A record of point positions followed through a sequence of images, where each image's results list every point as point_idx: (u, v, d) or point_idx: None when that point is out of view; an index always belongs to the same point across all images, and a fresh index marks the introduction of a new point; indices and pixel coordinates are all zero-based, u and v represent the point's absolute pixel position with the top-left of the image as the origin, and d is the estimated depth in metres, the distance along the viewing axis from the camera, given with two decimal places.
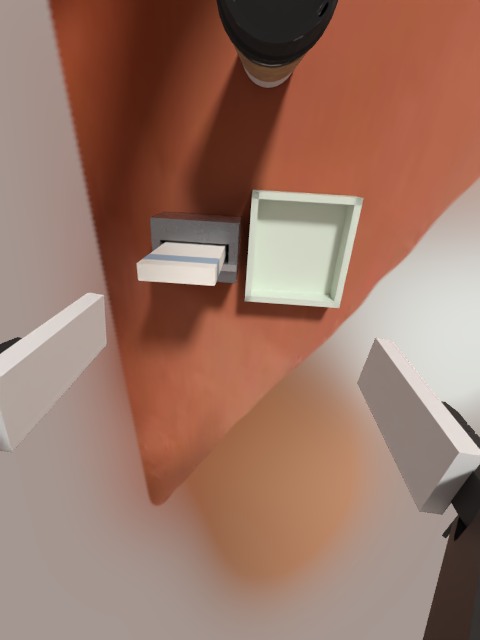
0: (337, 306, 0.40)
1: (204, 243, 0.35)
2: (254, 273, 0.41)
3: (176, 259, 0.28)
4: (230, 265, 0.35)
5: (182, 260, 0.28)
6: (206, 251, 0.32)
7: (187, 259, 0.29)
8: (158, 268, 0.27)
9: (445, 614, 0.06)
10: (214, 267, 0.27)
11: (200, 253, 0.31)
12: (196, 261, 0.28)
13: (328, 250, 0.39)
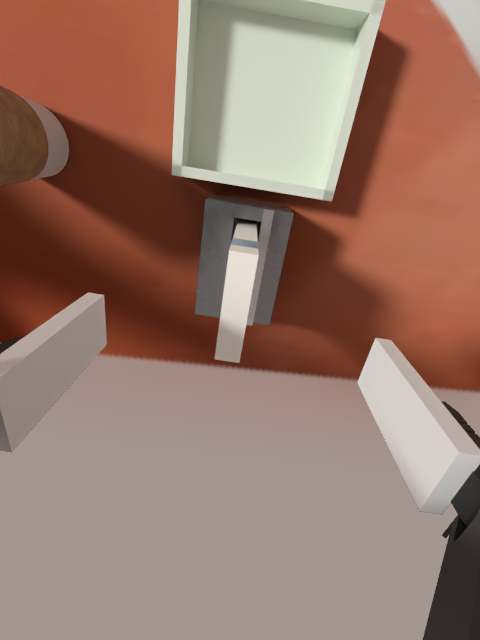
0: (381, 3, 0.20)
1: None
2: (294, 181, 0.27)
3: None
4: (263, 219, 0.23)
5: None
6: None
7: None
8: (223, 333, 0.18)
9: (445, 614, 0.06)
10: None
11: None
12: None
13: (273, 37, 0.23)
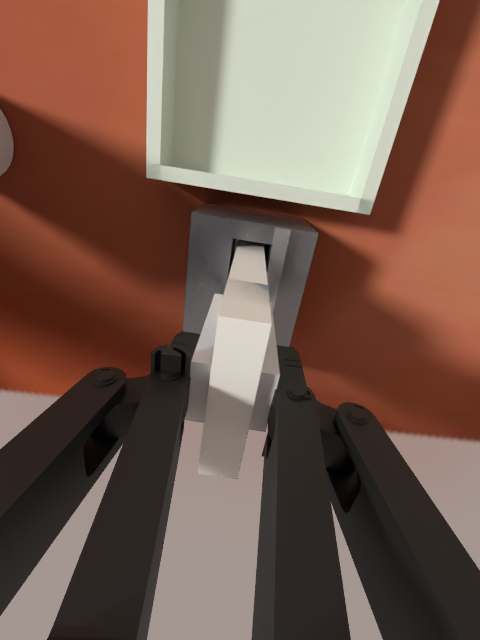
0: None
1: None
2: (316, 185, 0.20)
3: None
4: (275, 242, 0.16)
5: None
6: None
7: None
8: (211, 439, 0.11)
9: (265, 529, 0.07)
10: None
11: None
12: None
13: None
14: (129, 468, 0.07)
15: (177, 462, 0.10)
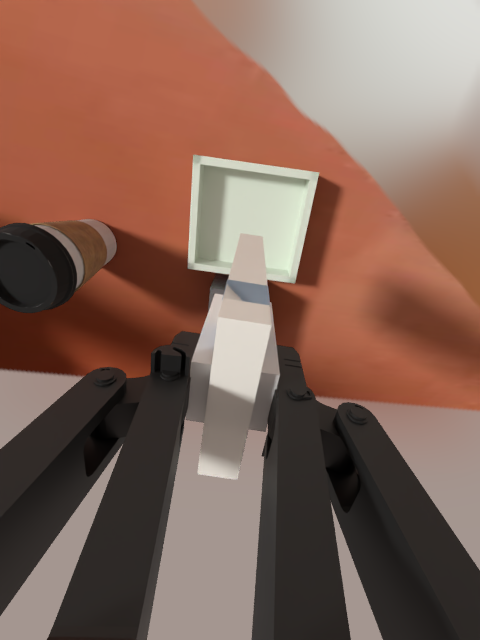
0: (316, 175, 0.32)
1: None
2: (271, 265, 0.40)
3: None
4: None
5: None
6: None
7: None
8: (211, 440, 0.11)
9: (265, 529, 0.07)
10: (219, 314, 0.09)
11: None
12: None
13: (252, 184, 0.35)
14: (129, 468, 0.07)
15: (177, 462, 0.10)
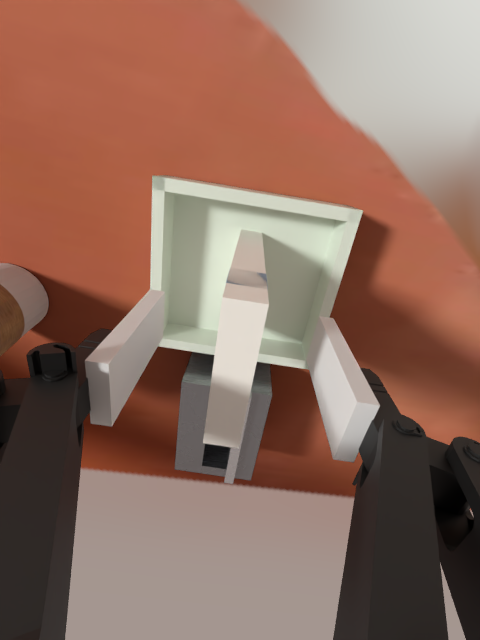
0: (358, 214, 0.19)
1: None
2: (276, 337, 0.27)
3: None
4: None
5: None
6: None
7: None
8: (215, 411, 0.12)
9: (356, 557, 0.07)
10: None
11: None
12: None
13: (251, 220, 0.22)
14: (13, 480, 0.06)
15: (80, 463, 0.09)
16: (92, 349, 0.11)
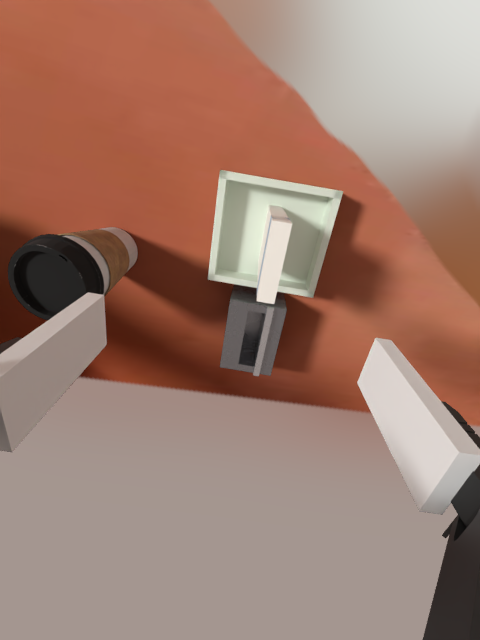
0: (340, 193, 0.33)
1: None
2: (289, 278, 0.40)
3: (262, 261, 0.27)
4: (267, 314, 0.36)
5: (264, 255, 0.27)
6: None
7: (264, 250, 0.27)
8: (264, 281, 0.26)
9: (445, 614, 0.06)
10: (272, 221, 0.24)
11: (266, 236, 0.29)
12: (266, 240, 0.26)
13: (275, 199, 0.36)
14: None
15: None
16: None
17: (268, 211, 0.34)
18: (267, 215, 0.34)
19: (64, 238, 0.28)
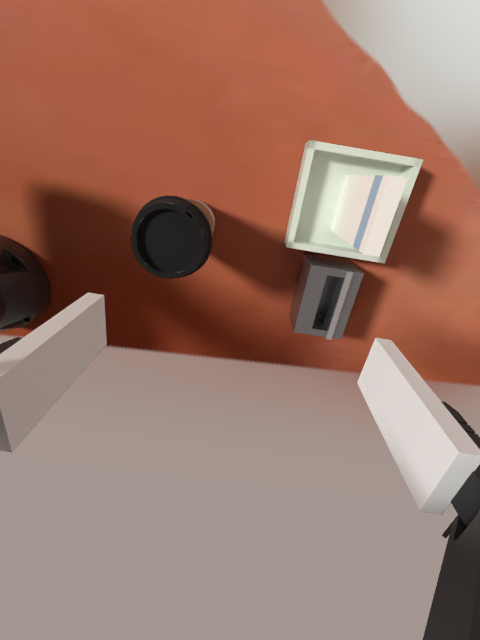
0: (420, 161, 0.35)
1: (349, 197, 0.36)
2: None
3: (367, 218, 0.30)
4: (346, 277, 0.39)
5: (369, 212, 0.29)
6: (361, 192, 0.32)
7: (369, 208, 0.30)
8: (373, 234, 0.28)
9: (445, 614, 0.06)
10: (387, 176, 0.27)
11: (362, 197, 0.32)
12: (374, 198, 0.29)
13: (353, 169, 0.38)
14: None
15: None
16: None
17: (352, 179, 0.36)
18: (349, 183, 0.37)
19: (182, 199, 0.30)
